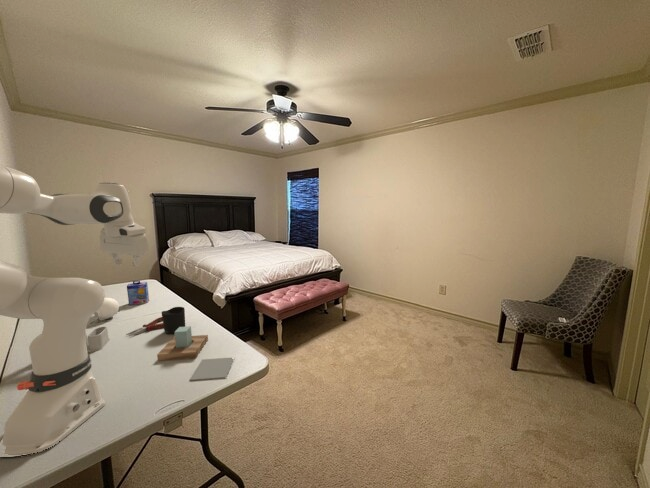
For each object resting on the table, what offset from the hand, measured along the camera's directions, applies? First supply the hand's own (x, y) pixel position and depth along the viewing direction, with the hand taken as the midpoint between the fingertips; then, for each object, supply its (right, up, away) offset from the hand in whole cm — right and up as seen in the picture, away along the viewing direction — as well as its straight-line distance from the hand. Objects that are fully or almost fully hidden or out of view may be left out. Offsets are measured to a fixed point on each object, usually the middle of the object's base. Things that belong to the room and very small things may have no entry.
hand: (127, 265), depth 99 cm
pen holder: (+3, -34, +27) cm, 43 cm away
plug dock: (+16, -35, +9) cm, 40 cm away
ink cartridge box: (-42, -29, +65) cm, 83 cm away
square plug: (+16, -36, +9) cm, 40 cm away
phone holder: (-28, -36, +12) cm, 47 cm away
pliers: (-11, -34, +31) cm, 47 cm away
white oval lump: (-44, -32, +44) cm, 70 cm away
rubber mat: (+34, -37, -4) cm, 50 cm away
